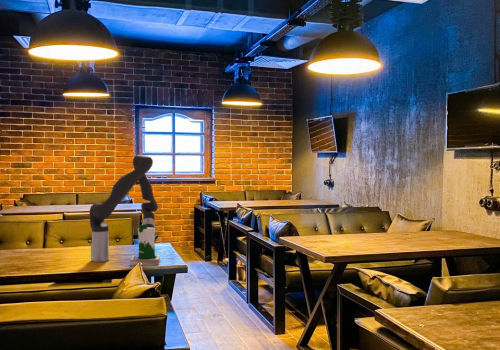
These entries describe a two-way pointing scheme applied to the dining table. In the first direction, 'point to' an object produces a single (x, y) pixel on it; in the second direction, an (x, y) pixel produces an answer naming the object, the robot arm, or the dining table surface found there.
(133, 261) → the stop tray
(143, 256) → the soya milk
